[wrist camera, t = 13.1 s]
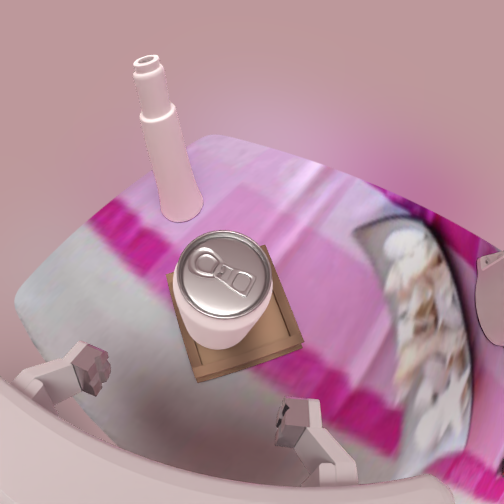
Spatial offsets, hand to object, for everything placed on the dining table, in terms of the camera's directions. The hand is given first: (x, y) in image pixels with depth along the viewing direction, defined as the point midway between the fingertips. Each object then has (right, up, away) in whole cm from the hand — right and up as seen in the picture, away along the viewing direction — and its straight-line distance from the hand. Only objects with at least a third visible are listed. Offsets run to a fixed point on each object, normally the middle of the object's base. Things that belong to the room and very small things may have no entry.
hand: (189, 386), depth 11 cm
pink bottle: (-7, +12, +27) cm, 30 cm away
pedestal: (+1, -2, +20) cm, 20 cm away
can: (-1, -1, +16) cm, 16 cm away
